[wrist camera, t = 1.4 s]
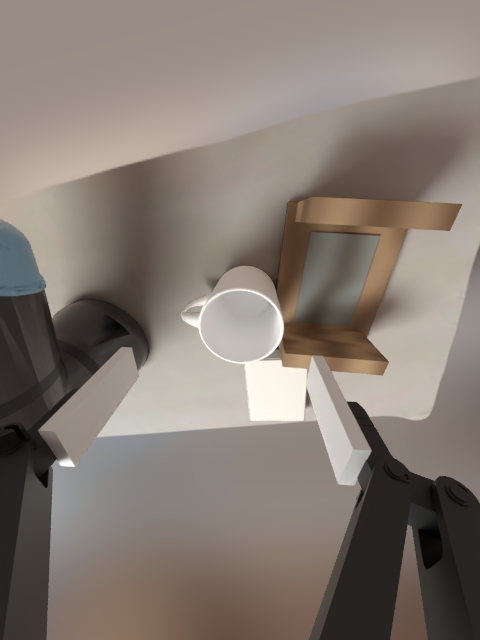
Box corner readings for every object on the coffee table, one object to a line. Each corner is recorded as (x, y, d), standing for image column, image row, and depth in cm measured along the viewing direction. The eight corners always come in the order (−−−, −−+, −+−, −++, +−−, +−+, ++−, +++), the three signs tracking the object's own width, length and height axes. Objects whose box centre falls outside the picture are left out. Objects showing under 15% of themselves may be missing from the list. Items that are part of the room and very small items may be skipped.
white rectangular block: (250, 409, 41) (249, 421, 38) (244, 350, 34) (243, 360, 32) (302, 409, 40) (304, 421, 37) (305, 348, 33) (309, 358, 31)
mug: (189, 266, 29) (156, 289, 19) (276, 262, 28) (286, 286, 18) (198, 320, 33) (174, 363, 23) (274, 319, 32) (282, 364, 22)
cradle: (270, 332, 33) (274, 366, 25) (287, 202, 25) (300, 196, 17) (360, 339, 32) (391, 376, 25) (408, 208, 24) (475, 204, 17)
